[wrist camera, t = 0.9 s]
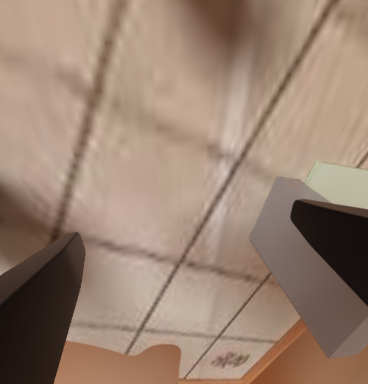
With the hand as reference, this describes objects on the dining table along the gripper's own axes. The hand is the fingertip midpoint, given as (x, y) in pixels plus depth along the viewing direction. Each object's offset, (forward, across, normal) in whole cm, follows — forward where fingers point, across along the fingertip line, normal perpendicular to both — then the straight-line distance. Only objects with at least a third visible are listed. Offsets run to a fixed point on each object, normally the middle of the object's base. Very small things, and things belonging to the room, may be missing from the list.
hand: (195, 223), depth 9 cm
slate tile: (+13, +13, -10) cm, 21 cm away
